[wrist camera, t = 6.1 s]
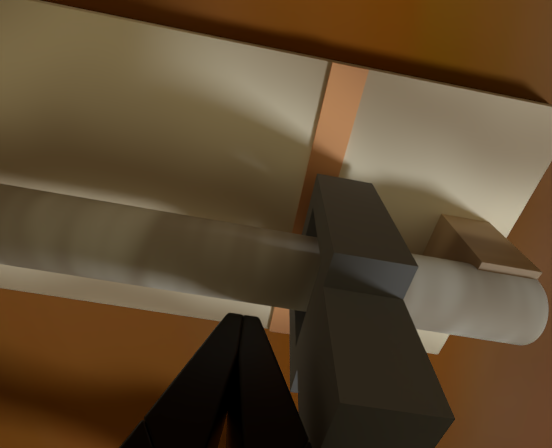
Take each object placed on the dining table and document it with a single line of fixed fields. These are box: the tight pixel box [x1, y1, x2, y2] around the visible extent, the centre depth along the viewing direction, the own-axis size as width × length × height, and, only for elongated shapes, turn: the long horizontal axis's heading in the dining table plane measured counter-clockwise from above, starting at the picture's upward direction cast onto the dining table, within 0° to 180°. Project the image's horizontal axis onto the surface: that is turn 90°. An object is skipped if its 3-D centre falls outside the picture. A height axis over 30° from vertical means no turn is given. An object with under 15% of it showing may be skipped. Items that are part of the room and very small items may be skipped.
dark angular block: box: [289, 173, 455, 448], centre depth 10 cm, size 5×2×8 cm, turn 170°
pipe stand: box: [0, 0, 552, 354], centre depth 13 cm, size 12×26×6 cm, turn 80°
